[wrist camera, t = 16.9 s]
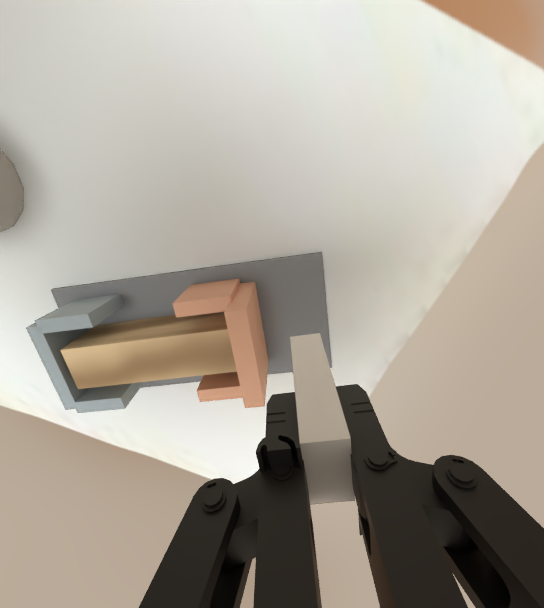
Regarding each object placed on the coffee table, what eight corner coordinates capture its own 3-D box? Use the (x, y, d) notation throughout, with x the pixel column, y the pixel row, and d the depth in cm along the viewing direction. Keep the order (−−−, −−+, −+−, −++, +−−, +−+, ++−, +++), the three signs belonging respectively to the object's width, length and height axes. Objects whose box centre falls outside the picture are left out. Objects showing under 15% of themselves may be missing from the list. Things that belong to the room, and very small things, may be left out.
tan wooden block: (95, 325, 29) (60, 349, 25) (242, 305, 28) (233, 328, 23) (109, 359, 31) (78, 389, 26) (249, 342, 29) (243, 370, 25)
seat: (53, 288, 28) (4, 308, 24) (321, 252, 26) (330, 265, 21) (96, 390, 33) (63, 426, 28) (331, 366, 30) (340, 399, 26)
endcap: (191, 284, 27) (162, 313, 21) (254, 276, 27) (244, 302, 20) (212, 369, 31) (193, 417, 24) (269, 363, 30) (265, 411, 24)
